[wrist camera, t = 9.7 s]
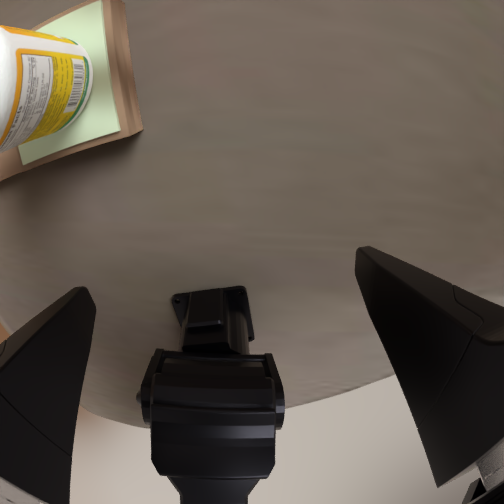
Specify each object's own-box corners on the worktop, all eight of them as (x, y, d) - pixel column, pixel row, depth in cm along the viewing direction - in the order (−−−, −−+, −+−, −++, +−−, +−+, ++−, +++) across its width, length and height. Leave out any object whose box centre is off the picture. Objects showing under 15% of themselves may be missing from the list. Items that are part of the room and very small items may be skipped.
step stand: (143, 129, 18) (128, 136, 15) (-8, 184, 18) (-30, 197, 15) (124, 3, 13) (107, -10, 10) (-28, 85, 13) (-52, 89, 10)
